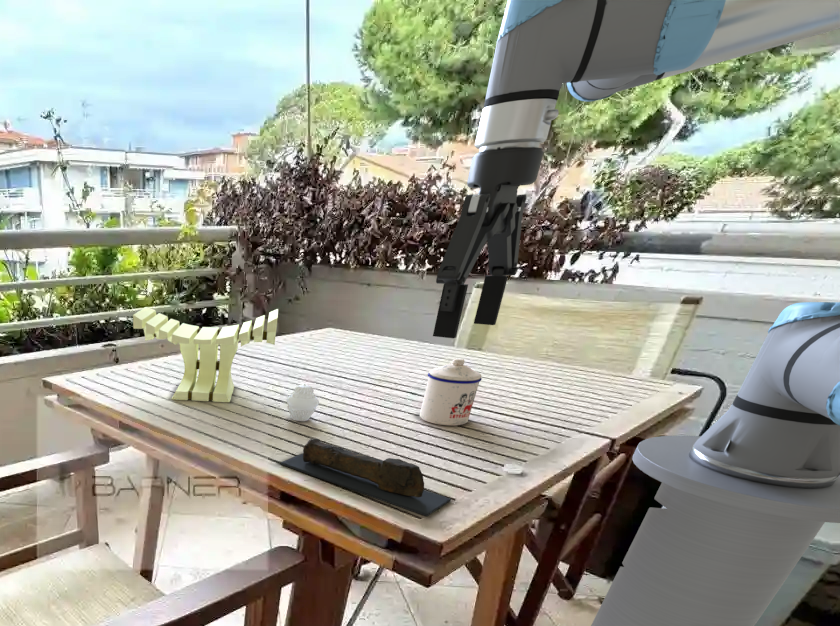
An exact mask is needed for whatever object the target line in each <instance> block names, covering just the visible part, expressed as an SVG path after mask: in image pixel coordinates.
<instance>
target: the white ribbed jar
mask: <svg viewBox="0 0 840 626" xmlns="http://www.w3.org/2000/svg"><path fill="white" fill-rule="evenodd" d="M291 393H292V394H290V395H288V397H287V398H286V405H287V409H288V413H289V415H290V417H291V420H293V421H296V422H307V421H309V420H310V419H311V417H312V416H313V414H314V413H315V411H316V410H317V408H318V407H319V404H320V400H319V398H318V397H317V396H316V394H315V392H314V388H313V387H312V386H311V385H309V384H306V383H305V384H299V385H297V386H296V387H295V388H294V391H293V392H291Z"/></svg>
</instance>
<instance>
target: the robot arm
mask: <svg viewBox="0 0 840 626" xmlns="http://www.w3.org/2000/svg"><path fill="white" fill-rule="evenodd" d="M837 30H840V0H507V1H506V5H505V9H504V14H503V17H502V21H501V25H500V29H499V33H498V36H497V40H496V44H495V50H494V55H493V59H492V64H491V70H490V75H489V80H488V83H487V88H486V93H485V99H484V104H483V108H482V112H481V115H480V120H479V124H478V129H477V134H476V137H475V142H474V147H475V148H476V149H478V152H477V153H475V154H474V155H473V156H472V158H471V163H470V166H469V167H470V168H469V172H468V177H467V182H466V184H467V185H466V186H467V187H468V189H469V188H470V189H479V191H478V193H477V194H476V193H475V194H466V195H465V197H464V201H463V203H462V208H461V212H460V216H459V219H458V221H457V223H456V226H455V228H454V231H453V234H452V236H451V238H450V240H449V244H448V246H447V249H446V251H445V254H444V255H443V258H442V261H441V263H440V267H439V269H438V271H437V274H436V278H435V283H436V284H441V285H443V286H442V291H441V296H440V300H439V305H438V310H437V315H436V319H435V323H434V328H433V333H432V337H436V338H446V339H456V338H457V334H458V331H459V326H460V323H461V317H462V313H463V309H464V305H465V300H466V296H467V292H468V288H469V284H467V283H466V281H467V280H468V277H469V276H470V274H471V272H472V270H473V268H474V266H475V264H476V262H477V260H478V258H479V256H480V255H481V252H482V251H483V249H484V247H485V245H486V243H487V258H488V273H489V274H488V275H485V276H484V280H483V284H482V287H481V291H480V292H481V293H480V296H479V299H478V304H477V308H476V312H475V317H474V319H473V324H474V325H485V326H496V325H497V320H498V316H499V312H500V309H501V305H502V301H503V297H504V293H505V289H506V286H507V282H508V280H509V279H508V278H509V276H516V274H517V272H518V269H519V268H518V262H519V253H520V243H521V233H522V226H523V225H522V224H523V215H524V210H525V206H526V201H527V194H526V193H525V194H518V189H519V187H520V186H530V185H533V184H534V183H535V182H536V181H537V179H538V176H539V171H540V169H541V164H542V160H543V157H544V152H545V151H544V150H543V148H542V147H540V144H543V143H544V142H546V141H547V140H548V136H549V133H550V128H551V125H552V124H551V123H552V121H554V120H556V118H558V116H559V114H560V112H559V109H558V108H557V109H556V106H557V103H558V99H559V96H560V91H561V89H562V86H563V84H566V87H567V90H568V92H569V93H570V95H571V96H572V97H573V98H574V99H576V100H578V101H581V102H596V101H601V100H604V99H605V100H606V99H608V98H610V97H611V96H613V95H614V94H616V93H619V92H622V91H625V90H629V89H632V88H637V87H640V86H643V85H647V84H650V83H654V82H656V81H658V80H663V79H665V78H671V77H673V76H676V75H680V74H684V73H688V72H692V71H694V70H698V69H701V68H705V67H709V66H712V65H715V64H720V63H723V62H726V61H731V60H733V59H737V58H741V57H744V56H747V55H752V54H755V53H758V52H762V51H765V50H769V49H773V48H776V47H780V46H783V45H787V44H790V43H794V42H798V41H801V40H804V39H808V38H812V37H815V36H819V35H821V34H826V33H830V32H833V31H837ZM700 436H701V437H700V438H699V439H698V440H697V441H696V442H695V443H694V445H693V447H692V449H691V451H690V453H689V457H690V458H691V459H692V460H693V461H694V462H696V463H697V464H699V465H701V466H703V467H705V468H708V469H710V470H713V471H716V472H718V473H721V474H725V475H728V476H731V477H735V478H739V479H743V480H747V481H752V482H756V483H761V484H767V485H773V486H780V487H788V488H801V489H818V488H826V487H830V486H832V485H833V484H834V482H835V481H836V479H837V478H838V476H839V475H840V301H834V302H833V301H804V302H795V303H792V304H790V305H788V306H786V307H785V308H784V309H783V310H782V311H781V312H780V313H779V314H778V317H777V318H776V320H775V321H774V322H773V325H771V326H770V327H769V329H768V331H767V335H766V337H765V338H764V341H763V343H762V345H761V347H760V348H759V351H758V353H757V355H756V357H755V359H754V361H753V362H752V364H751V366H750V368H749V370H748V372H747V375H746V376H745V377H744V380H743V382H742V384H741V386H740V388H739V390H738V392H737V394H736V396H735V398H734V400H733V401H732V404H731V405H730V407H729V408H728V410H727V411H725V412H724V414H723V415H721V416H720V417H719V418H718V419H717V421H715V422H714V423H713V424H712V425H711V426H710V427H709V428H708V429H706V431H705V432H704V433H702V435H700Z"/></svg>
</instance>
